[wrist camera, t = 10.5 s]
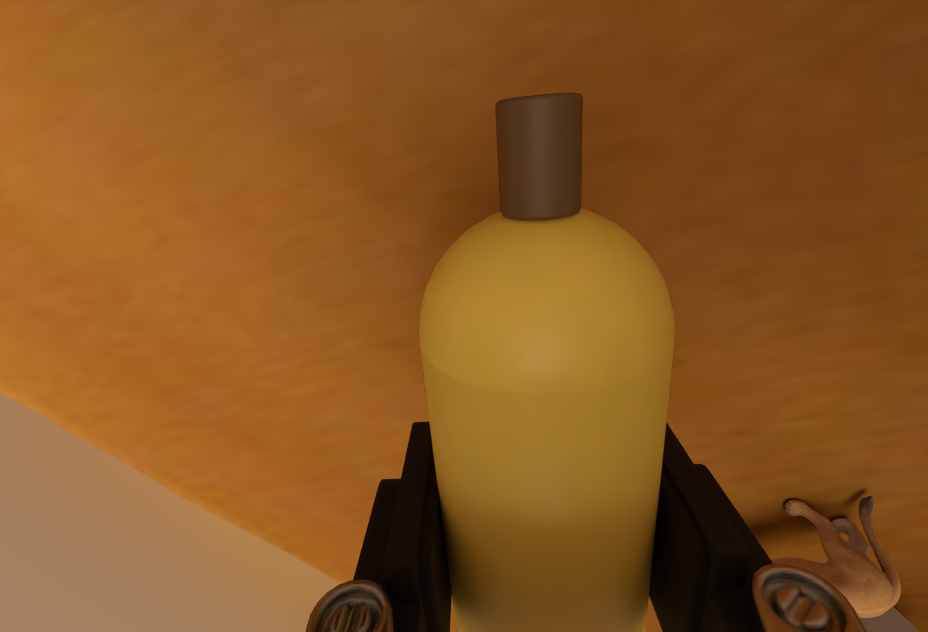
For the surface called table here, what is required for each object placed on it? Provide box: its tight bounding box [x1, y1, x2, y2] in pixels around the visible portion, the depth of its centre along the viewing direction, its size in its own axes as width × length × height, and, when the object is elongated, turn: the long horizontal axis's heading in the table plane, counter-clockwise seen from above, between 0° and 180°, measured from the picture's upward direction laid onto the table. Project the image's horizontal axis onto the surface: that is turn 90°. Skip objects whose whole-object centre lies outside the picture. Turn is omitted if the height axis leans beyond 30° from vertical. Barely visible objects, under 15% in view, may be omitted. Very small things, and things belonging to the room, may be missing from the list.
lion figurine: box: [771, 496, 901, 618], centre depth 29 cm, size 15×5×9 cm, turn 123°
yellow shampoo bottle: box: [419, 93, 674, 632], centre depth 9 cm, size 15×4×4 cm, turn 5°
